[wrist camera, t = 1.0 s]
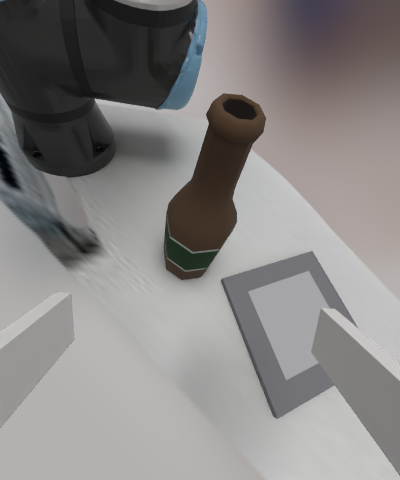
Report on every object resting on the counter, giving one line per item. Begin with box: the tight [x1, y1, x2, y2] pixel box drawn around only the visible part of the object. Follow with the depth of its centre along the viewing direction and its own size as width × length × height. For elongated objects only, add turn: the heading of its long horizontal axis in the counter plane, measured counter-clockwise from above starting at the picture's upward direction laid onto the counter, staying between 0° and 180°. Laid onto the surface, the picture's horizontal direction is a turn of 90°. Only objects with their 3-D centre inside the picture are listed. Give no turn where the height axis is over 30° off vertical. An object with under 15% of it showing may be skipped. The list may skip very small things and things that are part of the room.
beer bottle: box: [164, 94, 266, 280], centre depth 23 cm, size 8×8×24 cm
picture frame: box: [221, 251, 358, 419], centre depth 32 cm, size 18×18×1 cm
